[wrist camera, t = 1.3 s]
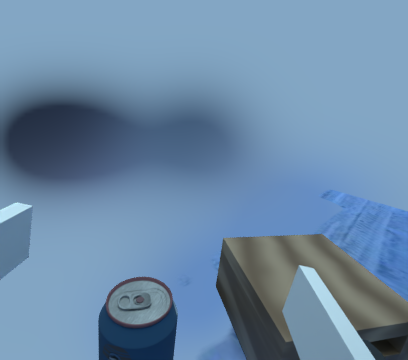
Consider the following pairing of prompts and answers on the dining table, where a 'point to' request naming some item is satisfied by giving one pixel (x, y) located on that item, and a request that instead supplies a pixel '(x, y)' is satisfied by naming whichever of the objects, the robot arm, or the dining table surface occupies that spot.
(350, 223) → the dining table surface
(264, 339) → the shelf
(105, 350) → the soda can
